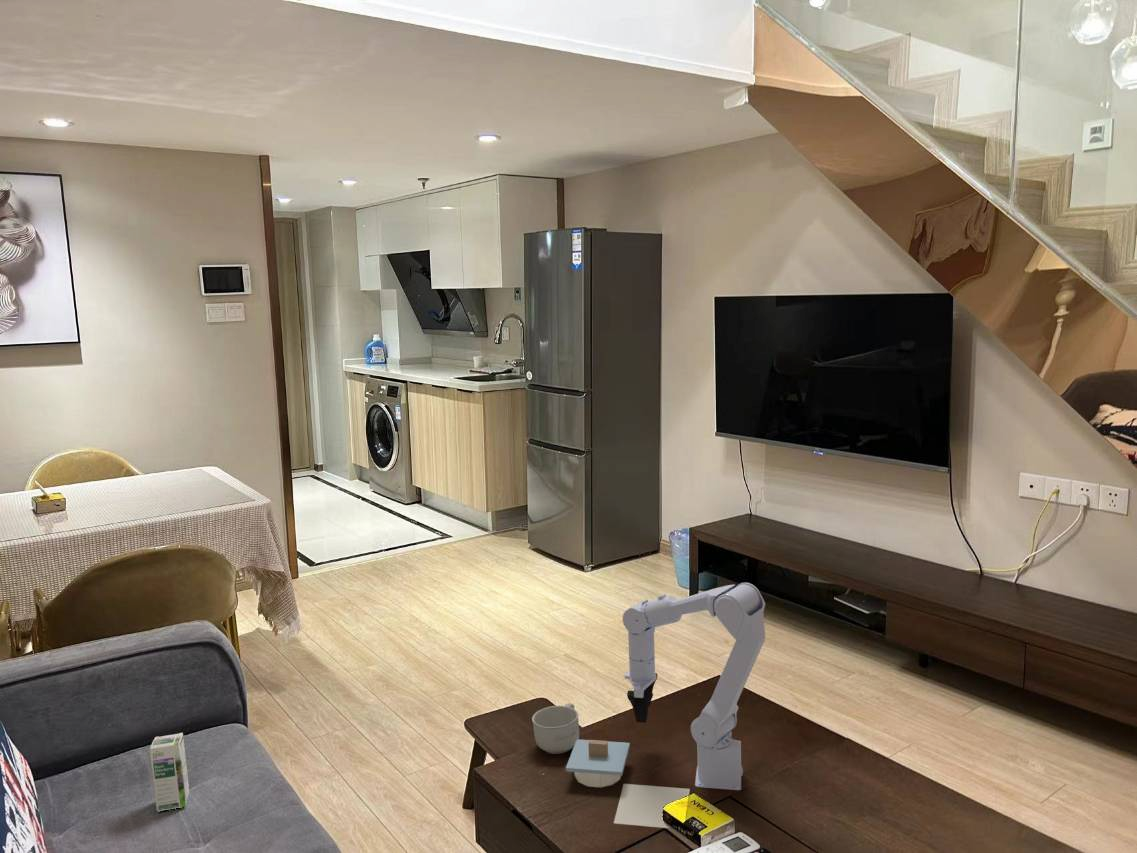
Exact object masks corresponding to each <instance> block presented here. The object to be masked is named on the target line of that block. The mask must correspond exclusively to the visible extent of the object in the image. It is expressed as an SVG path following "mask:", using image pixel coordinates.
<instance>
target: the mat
mask: <svg viewBox="0 0 1137 853" xmlns="http://www.w3.org/2000/svg"><path fill="white" fill-rule="evenodd" d="M690 791H691V790H690V788H683V787H682V788H681V787H671V786H670V787H669V786H659V785H658V786H656V785H645V784H634V783H633V784H632V783H631V784H630V783H623V785H622V789H621V793H620V797H619V800H618V805H617V809H616V812H615V816H614V820H613V824H616V825H628V826H638V827H649V828H660V829H669V828H668V827H667V826H666V825H665V824H664V821H663V817H662V816H663V813H662V812H663V807H664V806H665V805H666V804H668V803H671V802H672V801H675V800H678V799H681V798H683V797H685V796H688V795H689V796H690Z"/></svg>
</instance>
